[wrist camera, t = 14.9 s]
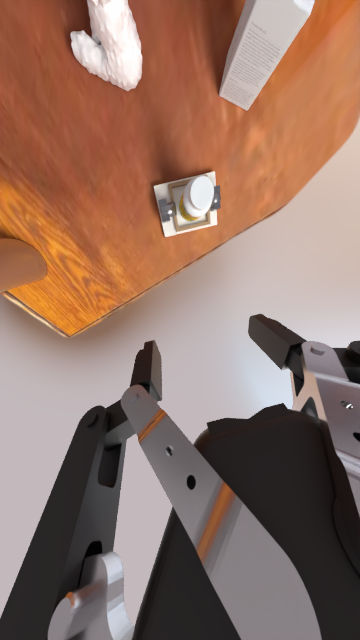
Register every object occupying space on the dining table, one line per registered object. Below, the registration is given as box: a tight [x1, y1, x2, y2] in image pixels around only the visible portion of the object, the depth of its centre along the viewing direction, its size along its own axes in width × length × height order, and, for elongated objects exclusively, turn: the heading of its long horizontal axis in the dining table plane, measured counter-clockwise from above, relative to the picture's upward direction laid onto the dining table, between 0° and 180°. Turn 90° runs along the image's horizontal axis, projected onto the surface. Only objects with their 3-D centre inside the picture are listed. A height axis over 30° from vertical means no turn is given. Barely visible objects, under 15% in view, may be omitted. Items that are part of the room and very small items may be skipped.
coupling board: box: [154, 171, 217, 237], centre depth 29 cm, size 13×9×2 cm
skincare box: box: [219, 0, 315, 111], centre depth 17 cm, size 6×4×12 cm
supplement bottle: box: [179, 176, 214, 221], centre depth 25 cm, size 5×5×10 cm
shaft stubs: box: [158, 185, 220, 223], centre depth 28 cm, size 13×4×2 cm, turn 102°
